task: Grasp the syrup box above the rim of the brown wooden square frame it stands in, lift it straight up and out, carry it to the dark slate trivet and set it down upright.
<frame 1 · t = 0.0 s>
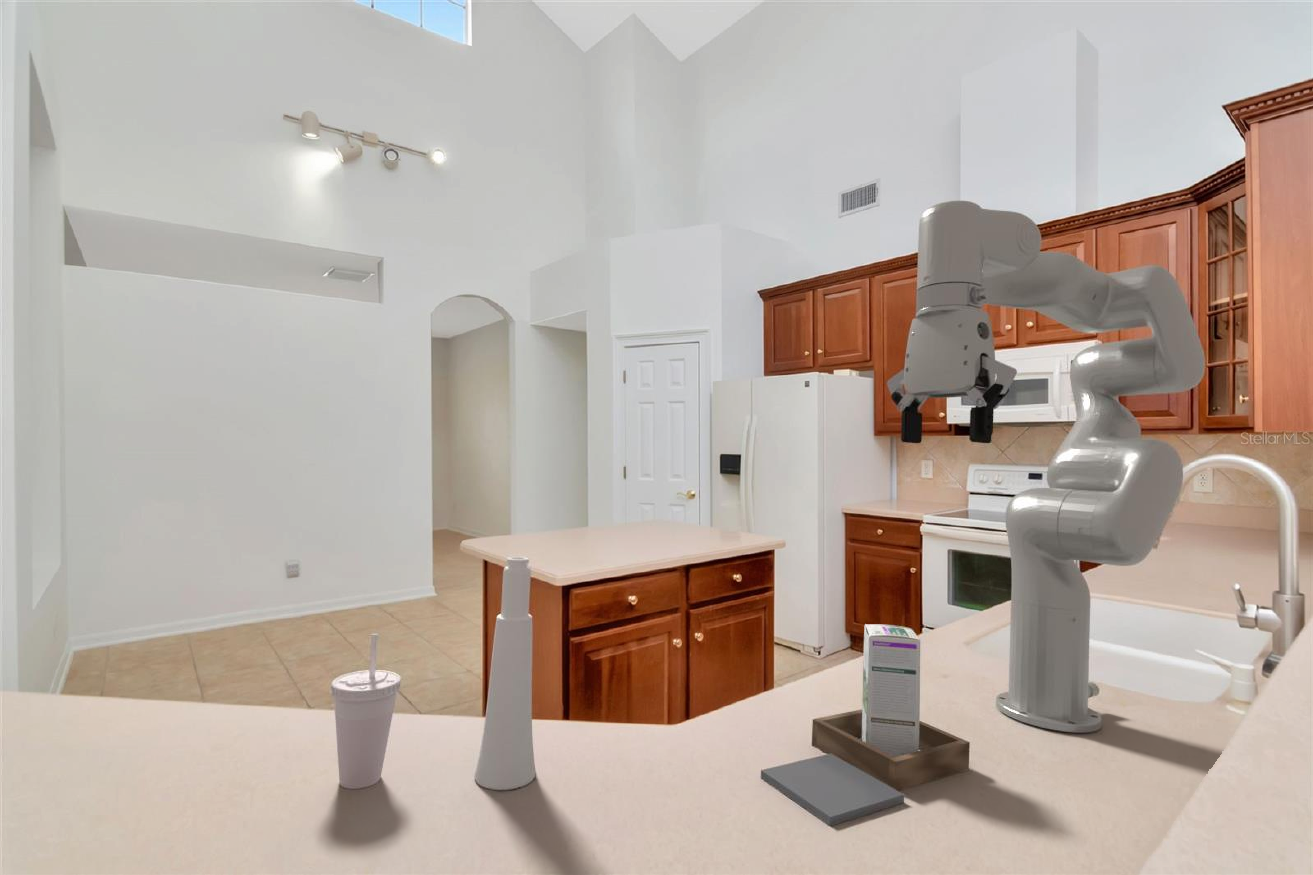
hand: (944, 442, 81), 37 cm above the countertop, tool pointing down, fingers open, 9 cm apart
cosmetic bottle: (505, 778, 67), on the countertop
trivet: (830, 790, 67), on the countertop
brown wooden square frame: (887, 756, 76), on the countertop
syrup box: (887, 758, 76), resting in brown wooden square frame
smoothie: (360, 781, 64), on the countertop
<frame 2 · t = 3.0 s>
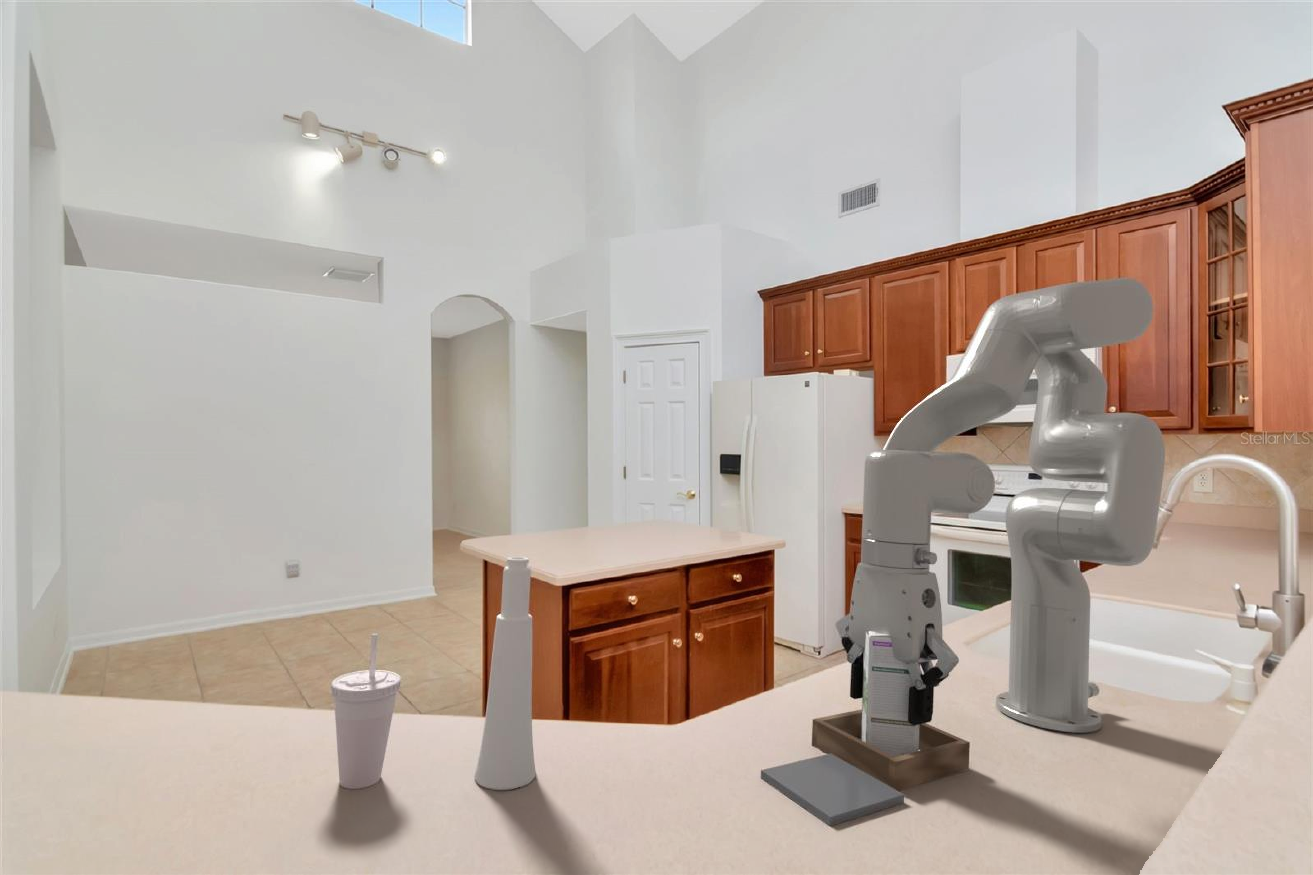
hand: (889, 708, 76), 6 cm above the countertop, tool pointing down, fingers closed on syrup box, 7 cm apart
syrup box: (887, 758, 76), resting in brown wooden square frame, touching gripper
everything else where it was.
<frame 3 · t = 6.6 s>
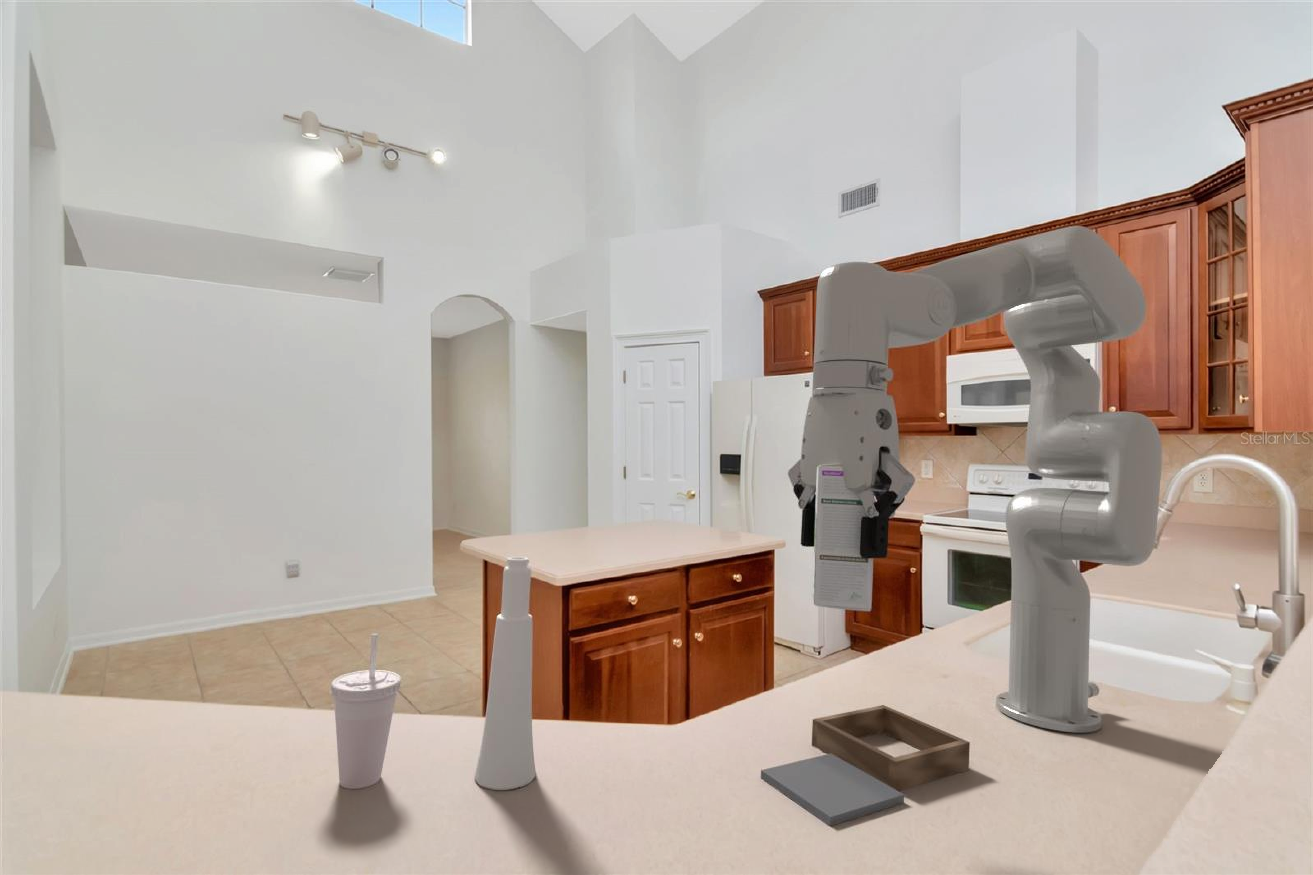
hand: (841, 550, 68), 24 cm above the countertop, tool pointing down, fingers closed on syrup box, 7 cm apart
syrup box: (839, 605, 68), point 19 cm above the countertop, touching gripper
everything else where it was.
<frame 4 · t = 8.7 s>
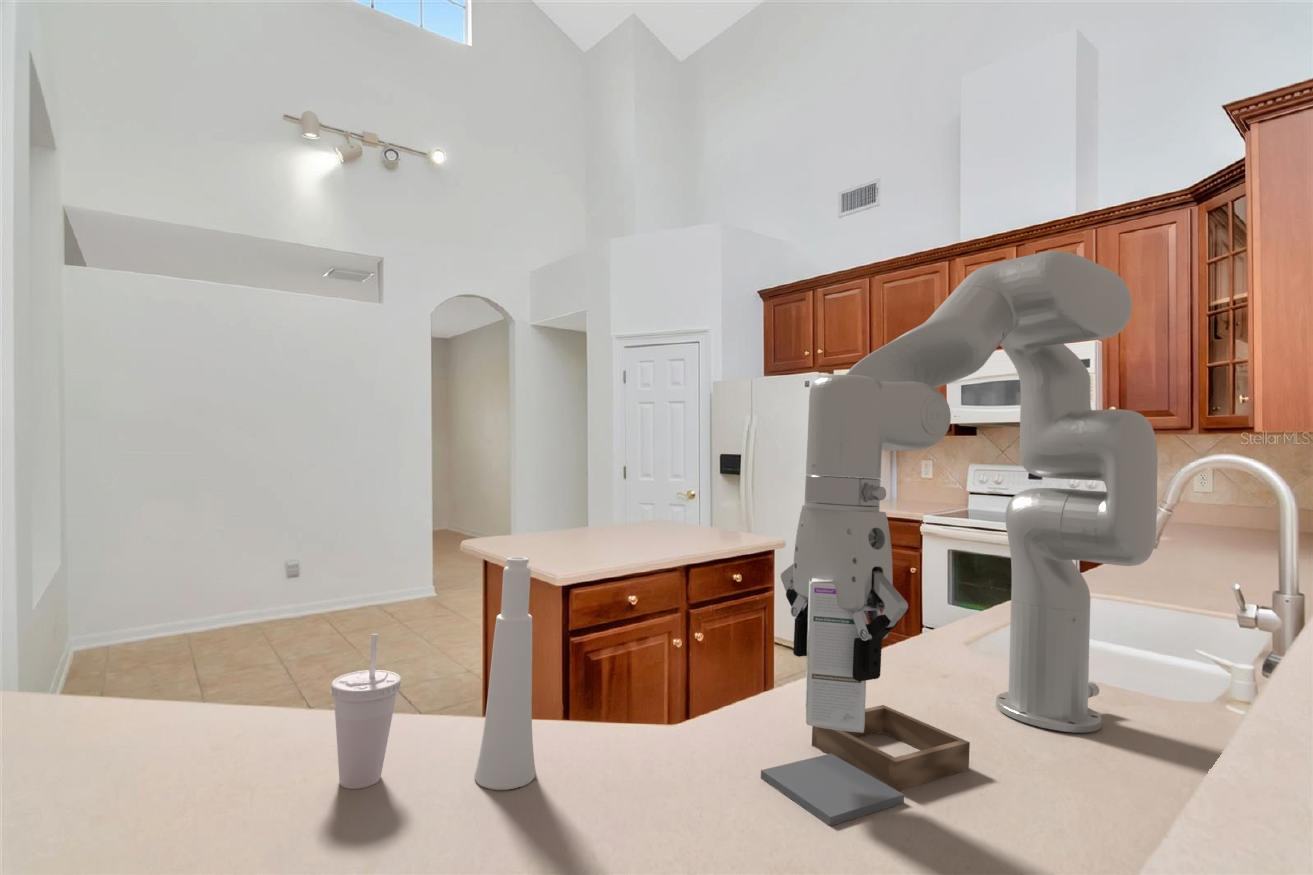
hand: (834, 665, 67), 13 cm above the countertop, tool pointing down, fingers closed on syrup box, 7 cm apart
syrup box: (832, 721, 67), point 7 cm above the countertop, touching gripper
everything else where it was.
when the fingers open (7 cm above the countertop, at t = 10.4 s): syrup box stays where it is, resting on trivet.
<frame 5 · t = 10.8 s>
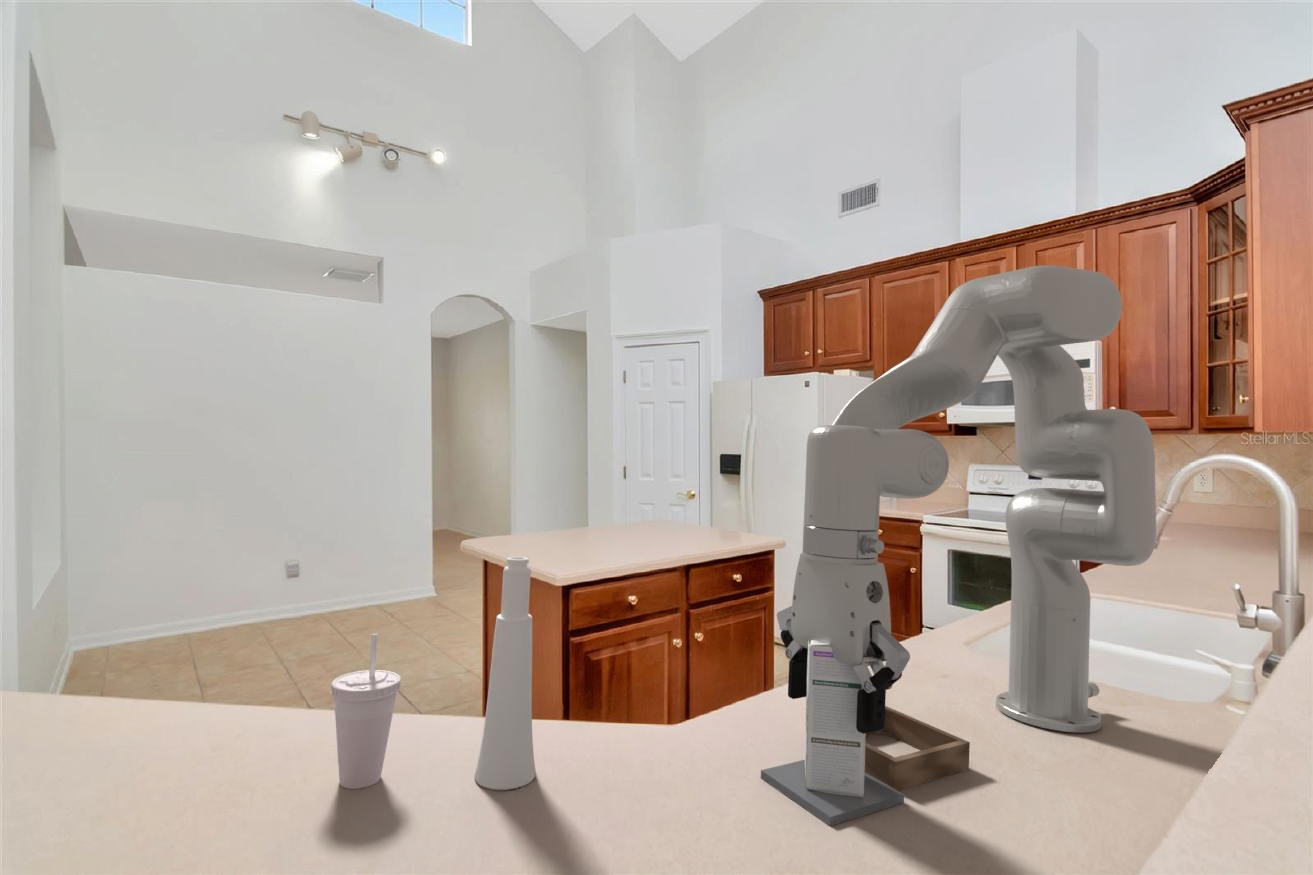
hand: (833, 712, 67), 8 cm above the countertop, tool pointing down, fingers open, 9 cm apart
syrup box: (831, 783, 67), point 1 cm above the countertop, touching trivet
everything else where it was.
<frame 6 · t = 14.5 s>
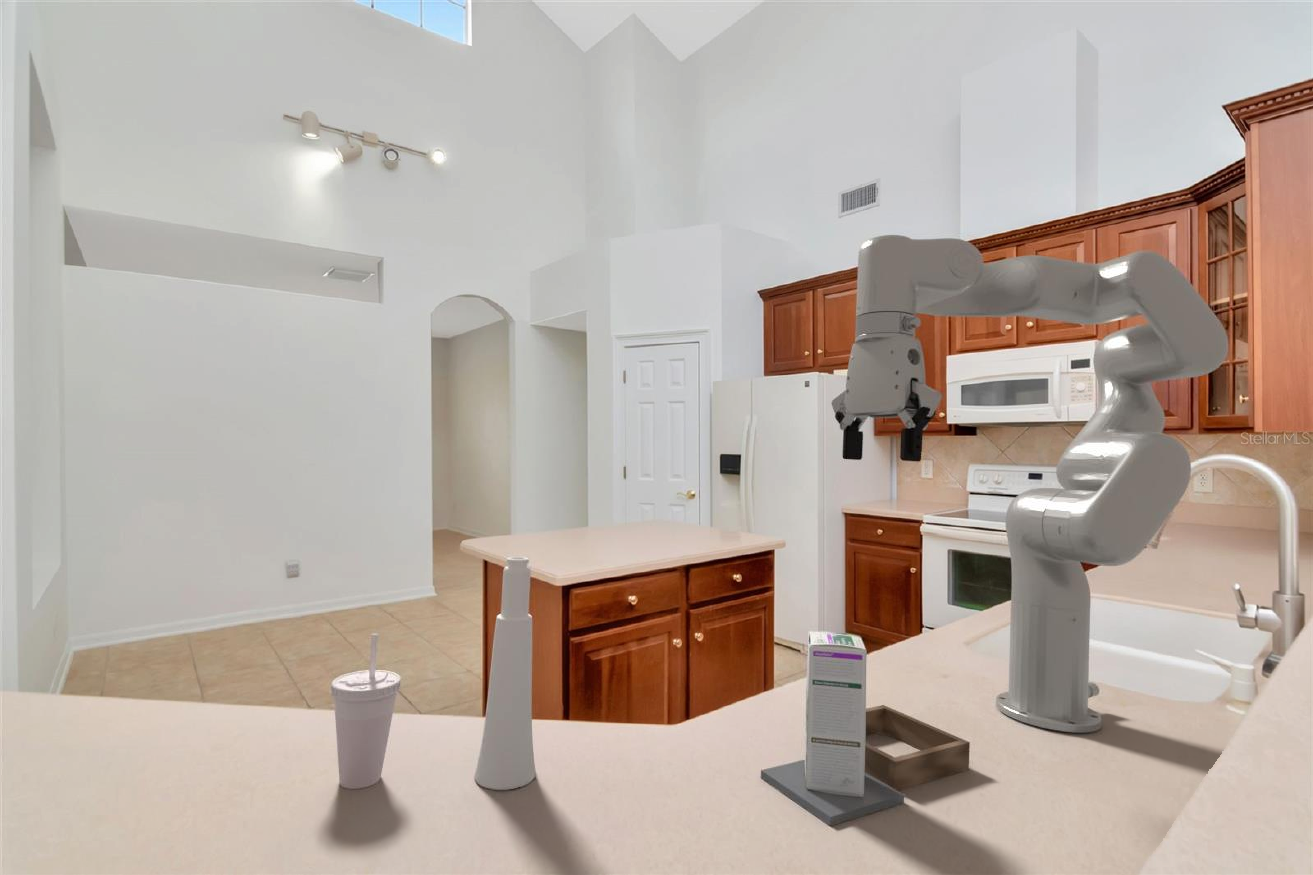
hand: (880, 460, 87), 34 cm above the countertop, tool pointing down, fingers open, 9 cm apart
nothing on the countertop moved.
at the end: syrup box inside the target area on the trivet (0.3 cm from its centre), point 0.6 cm above the trivet's base; syrup box tilted 0°; the gripper is holding nothing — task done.
